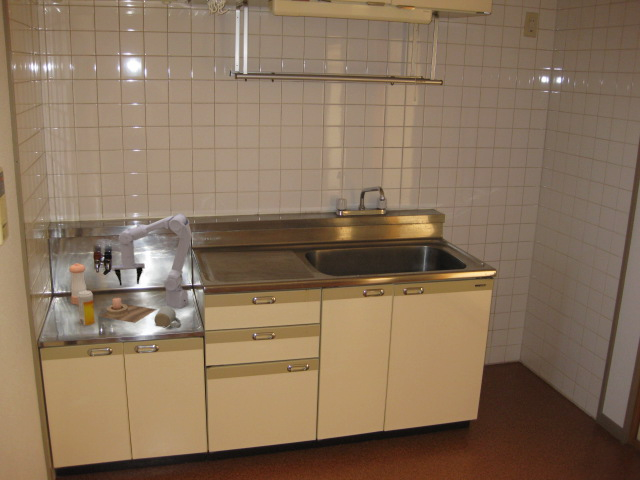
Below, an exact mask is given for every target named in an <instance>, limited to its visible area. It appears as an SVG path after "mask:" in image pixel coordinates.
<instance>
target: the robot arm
mask: <svg viewBox="0 0 640 480" xmlns="http://www.w3.org/2000/svg"><path fill="white" fill-rule="evenodd" d="M163 228H164V229H166V230H169V229H170V230H171V231H172V232H173V233H174V234H176V235H177V236H178V238H179V241H178V243H177V244H178V245H177V248H176V251H175V255H174V259H173V262H172V265H171V268H170V272H169V274H168V277H167V278H166V280H164V282H163V285H164V288H165V297H166V298H165V302H166V304H165V305H166V306H169V307H171V308H177V309H183V308H184V307H186V306H187V305H188V304H189V296H188V295H189V294H188V291H187V290H185V289H184V288H183V287H182V285H181V284H182V282H183V268H184V265H185V262H186V259H187V255H188V252H189V248H190V244H191V241H192V237H193V234H192V230H191V227H190V220H189V218H187V216H186V215H185V214H184V213H183V214H182V213H177V214H175V215H169V216H167V217H163V218H162V219H160V220H157V221H155V222H152V223H149V224H148V225H145V224H141V223H137V225H136V226H135V227H132V228H130V227H129V228H126V230H124V231H122V232H121V233H120V234H119V235H118V242H119V243H120V257H121V264H118V265H112V266H111V272H114V274H115V275H116V277H117V278H118V282H119V286H122V275H121V274H122V273H121V271H123V270H125V271H126V270H136V284H137V285H140V279H141V275H142V273H143V271H144V270H143V269H146V267H145V266H146V265H145V263H143V262H142V263H135V249H134V248H135V247H134V246H135V245H134V242H135V241H137V240H140V239H143V238H146V237H148V236H149V234H150V233H152V232H154V231H156V230H160V229H163Z"/></svg>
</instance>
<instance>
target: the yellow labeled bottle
mask: <svg viewBox="0 0 640 480" xmlns="http://www.w3.org/2000/svg"><path fill="white" fill-rule="evenodd" d="M77 306H78V314H79V315H78V316H79V324H80V325H81V326H90V325H94V324H95V323H96V321H95V319H96V318H95V308H94V307H95V306H94V294H93V292H92V291H91V290H87V289H86V290H85V291H80V292H79V294H78V305H77Z"/></svg>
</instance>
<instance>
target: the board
mask: <svg viewBox="0 0 640 480" xmlns="http://www.w3.org/2000/svg"><path fill="white" fill-rule="evenodd" d="M123 304H124V305H127V307H128V314H127V315H126V316H124V317H119V318H111V317H108V316H107V311H105V312H104V313H102V314H100V315H98V317H99V318H101V317H102V318H106V319H110V320H117V321H121V322H128V323H133V324H136V323H137V322H139V321H141V320H142V319H144V318H145V317H147V316H149V315H150V314H152V313H154V312H155V311H157V309H156V308H153V307H151V308H150V307H146V306H140V305H139V306H138V305H133V304H127V303H123Z"/></svg>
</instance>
